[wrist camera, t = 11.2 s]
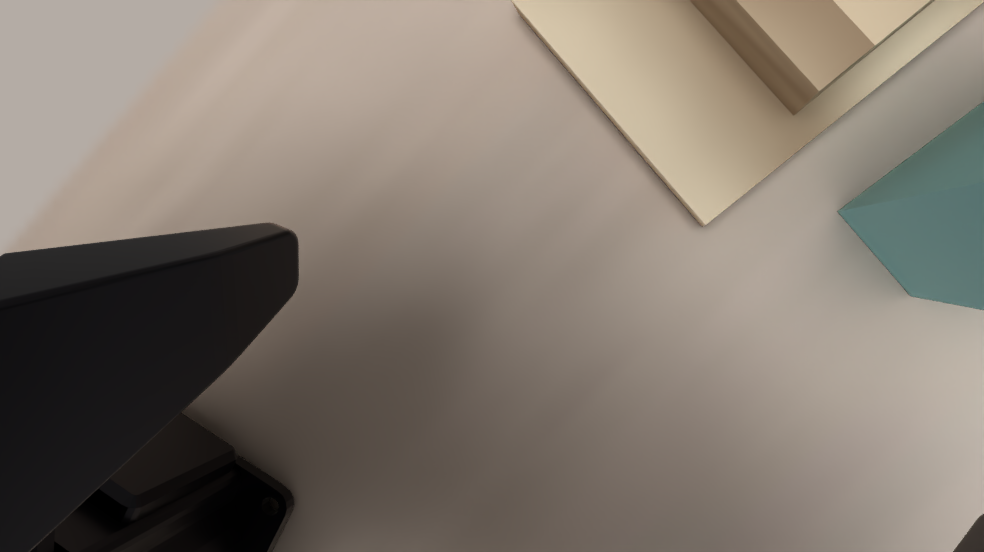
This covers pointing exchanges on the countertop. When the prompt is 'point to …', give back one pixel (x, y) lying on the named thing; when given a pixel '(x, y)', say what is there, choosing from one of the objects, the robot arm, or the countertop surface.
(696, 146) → the rack
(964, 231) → the teal panel
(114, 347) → the robot arm
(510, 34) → the countertop surface
